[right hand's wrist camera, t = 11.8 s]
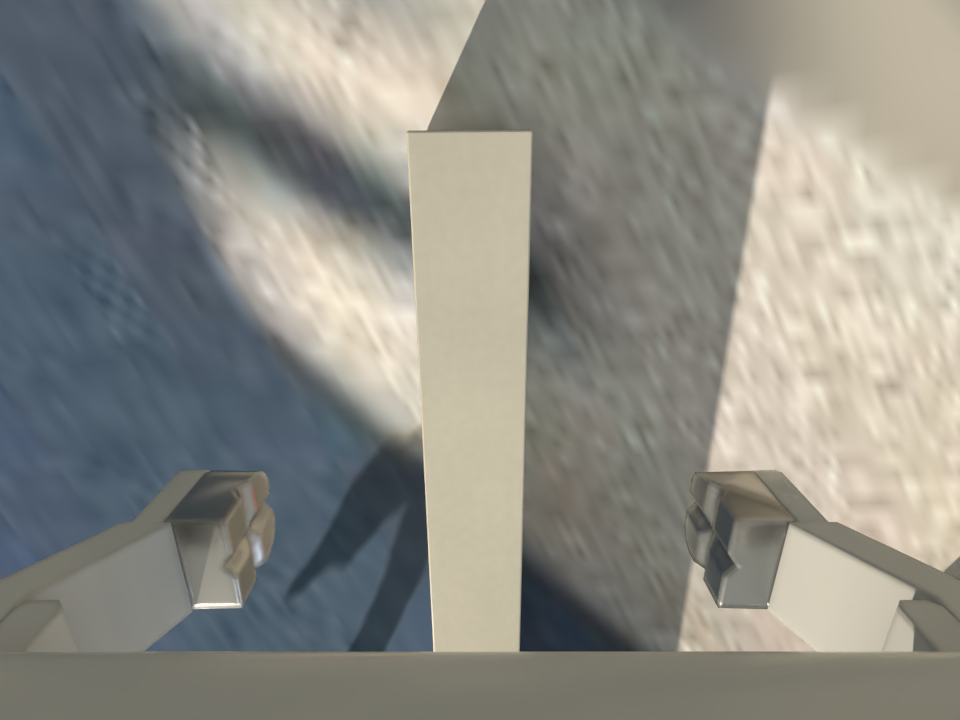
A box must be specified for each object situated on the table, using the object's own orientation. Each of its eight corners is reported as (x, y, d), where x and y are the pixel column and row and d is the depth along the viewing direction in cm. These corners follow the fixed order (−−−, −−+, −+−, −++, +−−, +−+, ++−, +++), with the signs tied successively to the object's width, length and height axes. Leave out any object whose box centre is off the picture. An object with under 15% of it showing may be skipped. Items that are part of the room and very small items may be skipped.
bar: (423, 134, 30) (406, 130, 23) (520, 133, 30) (533, 129, 23) (453, 851, 53) (449, 960, 46) (507, 851, 53) (512, 959, 46)
